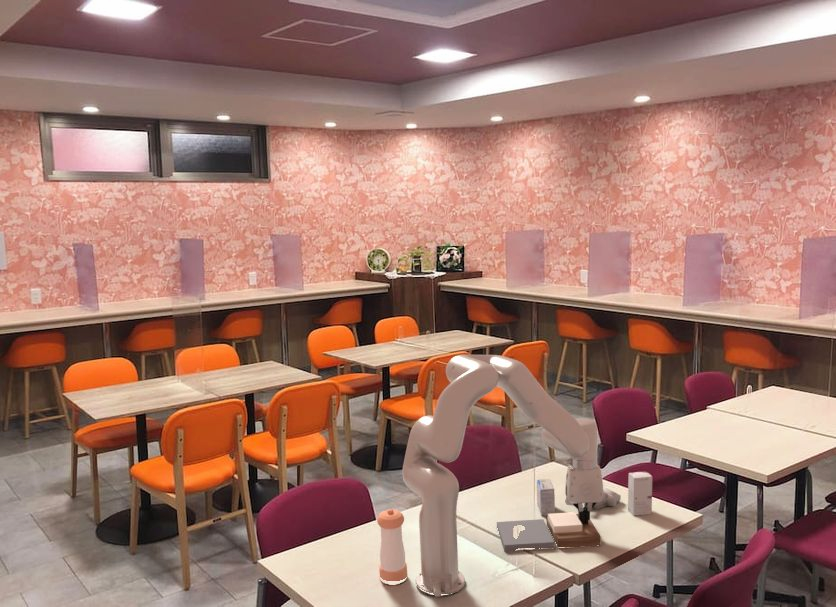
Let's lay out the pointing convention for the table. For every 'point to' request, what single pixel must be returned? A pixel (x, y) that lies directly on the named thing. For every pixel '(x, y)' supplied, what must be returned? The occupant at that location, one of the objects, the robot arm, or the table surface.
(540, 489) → the medicine box
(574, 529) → the coaster
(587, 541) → the serving board
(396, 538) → the pepper shaker
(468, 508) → the table surface
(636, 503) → the skincare box
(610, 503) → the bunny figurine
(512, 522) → the mat
